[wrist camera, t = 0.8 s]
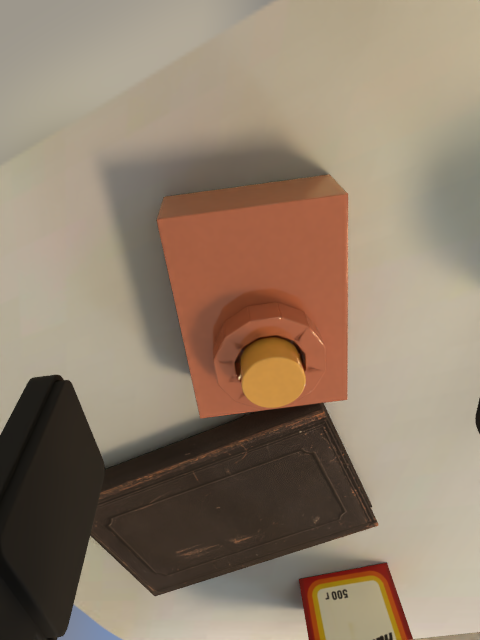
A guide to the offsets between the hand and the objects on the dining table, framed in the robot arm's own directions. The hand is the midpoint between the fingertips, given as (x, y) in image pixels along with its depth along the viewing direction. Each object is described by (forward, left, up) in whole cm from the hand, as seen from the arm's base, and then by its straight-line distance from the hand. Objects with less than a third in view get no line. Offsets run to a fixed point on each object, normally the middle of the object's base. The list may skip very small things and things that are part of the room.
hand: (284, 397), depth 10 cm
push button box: (+7, 0, -20) cm, 21 cm away
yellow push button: (+9, 0, -14) cm, 17 cm away
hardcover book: (+27, -5, -20) cm, 34 cm away
